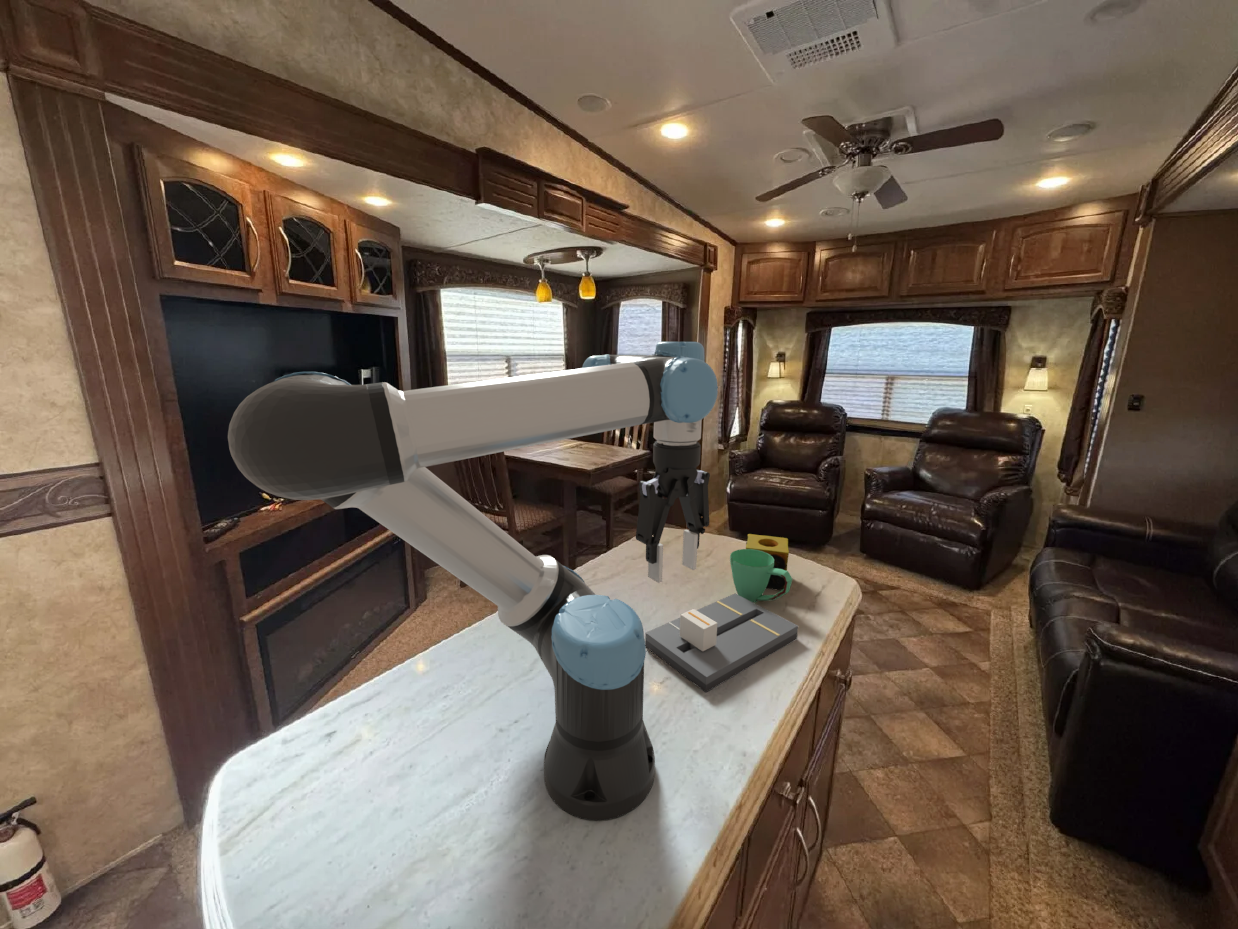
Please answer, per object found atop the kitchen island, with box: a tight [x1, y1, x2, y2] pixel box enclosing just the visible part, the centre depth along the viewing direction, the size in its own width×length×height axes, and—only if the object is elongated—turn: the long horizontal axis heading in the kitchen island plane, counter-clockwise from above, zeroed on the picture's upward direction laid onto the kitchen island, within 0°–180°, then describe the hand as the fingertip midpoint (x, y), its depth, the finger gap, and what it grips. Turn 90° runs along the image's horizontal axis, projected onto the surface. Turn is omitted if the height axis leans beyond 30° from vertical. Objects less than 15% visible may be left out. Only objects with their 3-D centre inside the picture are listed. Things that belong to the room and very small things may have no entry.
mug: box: [729, 548, 793, 603], centre depth 110 cm, size 15×10×10 cm
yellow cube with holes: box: [745, 533, 790, 591], centre depth 120 cm, size 10×10×10 cm
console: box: [644, 593, 799, 693], centre depth 95 cm, size 26×16×3 cm, turn 127°
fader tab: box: [679, 608, 717, 651], centre depth 90 cm, size 4×6×6 cm, turn 37°
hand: (672, 572), depth 83 cm, fingers open, 7 cm apart
